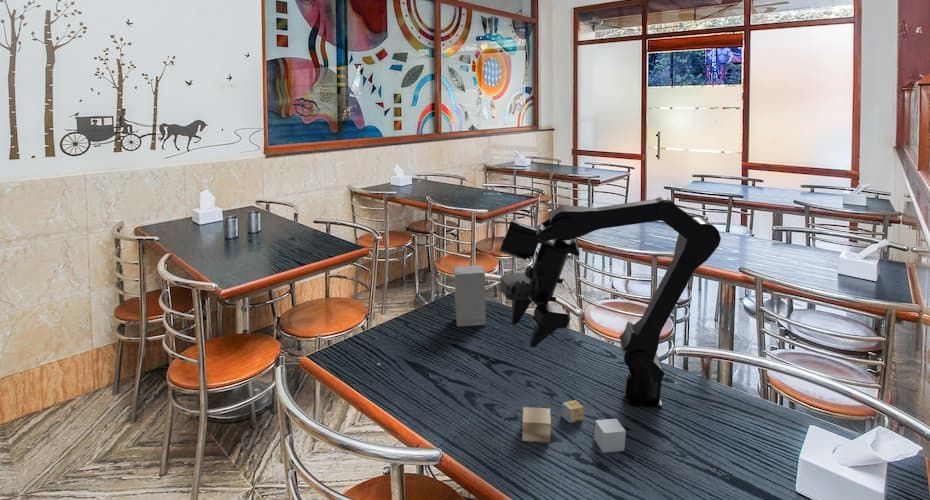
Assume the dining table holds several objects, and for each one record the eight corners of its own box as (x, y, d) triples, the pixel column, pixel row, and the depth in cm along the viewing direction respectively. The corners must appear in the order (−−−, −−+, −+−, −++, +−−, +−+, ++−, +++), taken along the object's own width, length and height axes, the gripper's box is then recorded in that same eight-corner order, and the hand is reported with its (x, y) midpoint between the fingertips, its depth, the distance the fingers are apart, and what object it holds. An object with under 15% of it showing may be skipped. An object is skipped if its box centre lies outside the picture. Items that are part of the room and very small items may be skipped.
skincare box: (484, 317, 157) (484, 264, 152) (486, 327, 150) (486, 272, 146) (454, 317, 156) (454, 264, 152) (454, 327, 149) (454, 272, 145)
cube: (615, 437, 101) (616, 418, 100) (624, 451, 97) (625, 431, 96) (594, 439, 100) (595, 420, 99) (602, 453, 97) (604, 433, 96)
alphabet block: (560, 416, 108) (561, 402, 107) (574, 412, 109) (575, 399, 108) (569, 424, 105) (570, 410, 104) (583, 420, 106) (584, 406, 106)
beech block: (549, 427, 104) (550, 408, 103) (550, 443, 100) (550, 423, 98) (522, 425, 105) (523, 407, 104) (522, 441, 100) (522, 421, 99)
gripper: (495, 243, 115) (473, 309, 119) (533, 282, 99) (505, 356, 103) (540, 251, 119) (517, 314, 124) (583, 290, 103) (555, 361, 108)
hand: (522, 334), depth 114 cm, fingers open, 9 cm apart
